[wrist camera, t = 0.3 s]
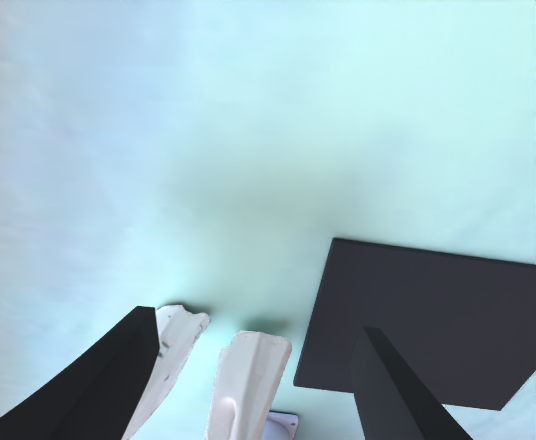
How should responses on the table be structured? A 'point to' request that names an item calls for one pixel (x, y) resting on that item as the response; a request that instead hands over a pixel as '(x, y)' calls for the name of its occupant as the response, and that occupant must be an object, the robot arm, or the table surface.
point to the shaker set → (217, 375)
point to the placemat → (425, 320)
